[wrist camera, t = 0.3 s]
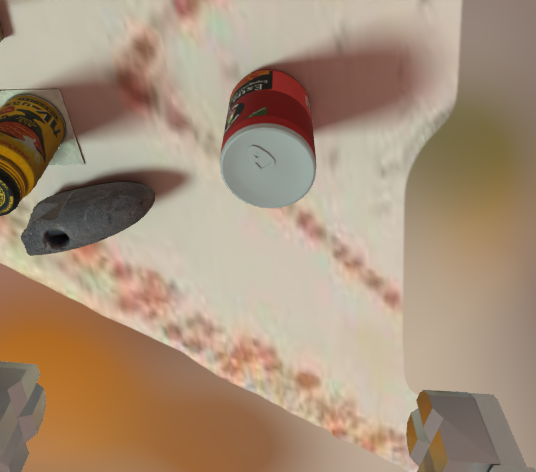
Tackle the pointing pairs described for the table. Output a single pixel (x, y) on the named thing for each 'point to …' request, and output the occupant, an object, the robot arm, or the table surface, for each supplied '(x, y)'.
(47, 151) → the condiment
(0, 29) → the walnut board
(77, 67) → the table surface
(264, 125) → the canned food
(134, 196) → the perforated stone tool
